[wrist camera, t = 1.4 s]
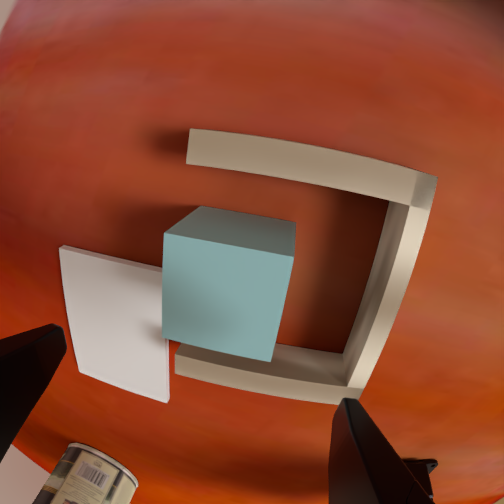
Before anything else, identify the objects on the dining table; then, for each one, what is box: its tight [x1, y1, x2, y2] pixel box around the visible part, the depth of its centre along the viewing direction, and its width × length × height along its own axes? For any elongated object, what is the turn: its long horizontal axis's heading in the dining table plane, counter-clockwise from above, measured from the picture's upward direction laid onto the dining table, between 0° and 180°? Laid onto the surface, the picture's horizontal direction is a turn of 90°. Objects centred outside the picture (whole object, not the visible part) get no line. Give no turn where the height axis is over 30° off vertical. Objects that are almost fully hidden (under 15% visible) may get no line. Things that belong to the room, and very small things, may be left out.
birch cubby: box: [175, 129, 438, 405], centre depth 16 cm, size 13×10×3 cm
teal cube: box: [162, 206, 296, 362], centre depth 15 cm, size 5×5×5 cm
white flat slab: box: [59, 245, 170, 403], centre depth 20 cm, size 11×8×1 cm
